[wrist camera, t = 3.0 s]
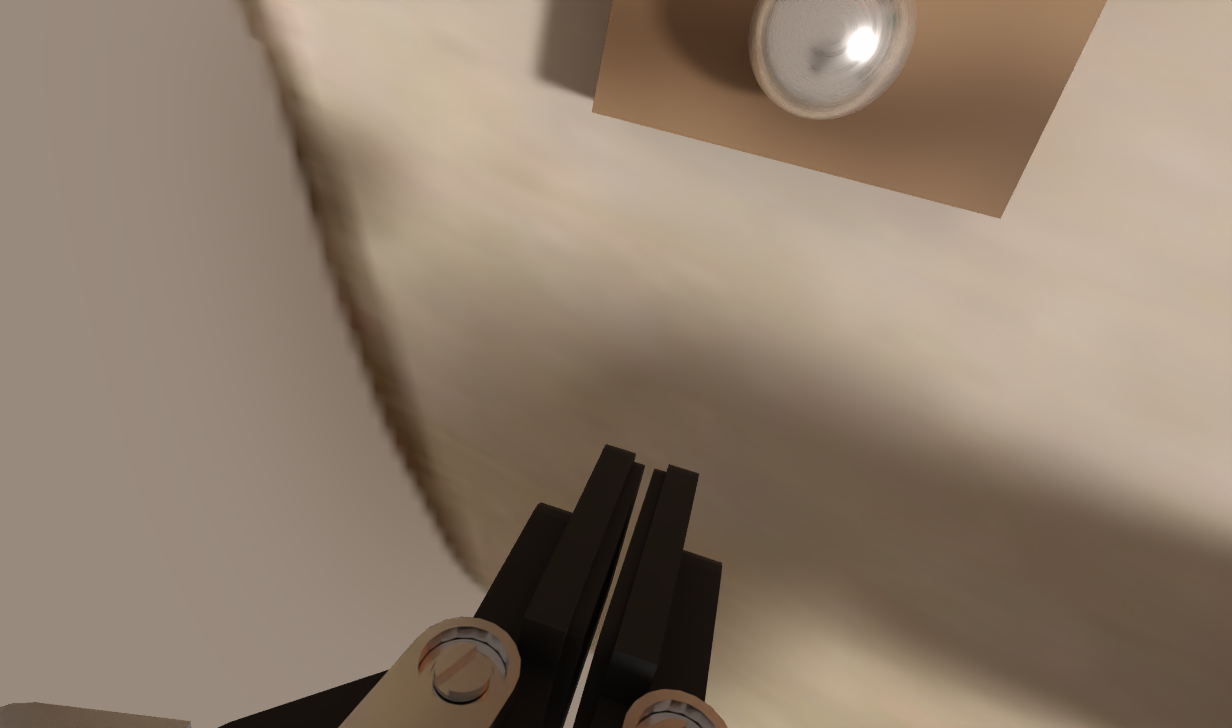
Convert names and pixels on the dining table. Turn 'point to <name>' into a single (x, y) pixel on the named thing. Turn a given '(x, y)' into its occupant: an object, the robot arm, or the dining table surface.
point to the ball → (829, 52)
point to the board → (885, 129)
